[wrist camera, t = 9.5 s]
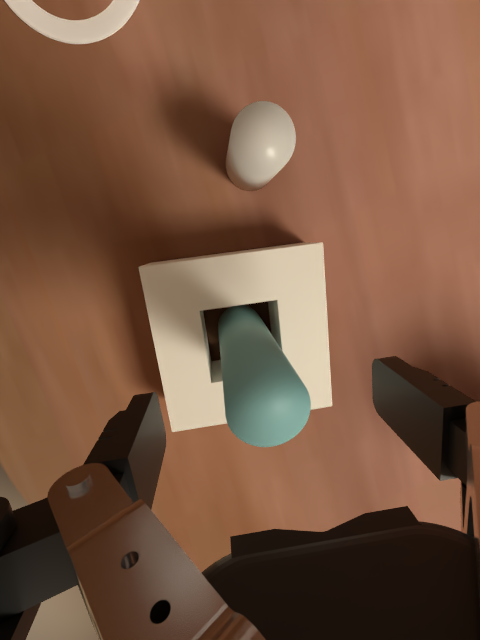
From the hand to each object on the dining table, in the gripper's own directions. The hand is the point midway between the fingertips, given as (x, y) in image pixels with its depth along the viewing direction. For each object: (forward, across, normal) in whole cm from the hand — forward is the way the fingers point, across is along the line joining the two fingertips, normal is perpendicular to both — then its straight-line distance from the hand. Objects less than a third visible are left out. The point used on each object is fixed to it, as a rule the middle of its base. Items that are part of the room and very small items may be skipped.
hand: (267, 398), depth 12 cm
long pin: (+10, 0, 0) cm, 10 cm away
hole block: (+10, 0, 0) cm, 10 cm away
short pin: (+10, -2, -10) cm, 14 cm away
